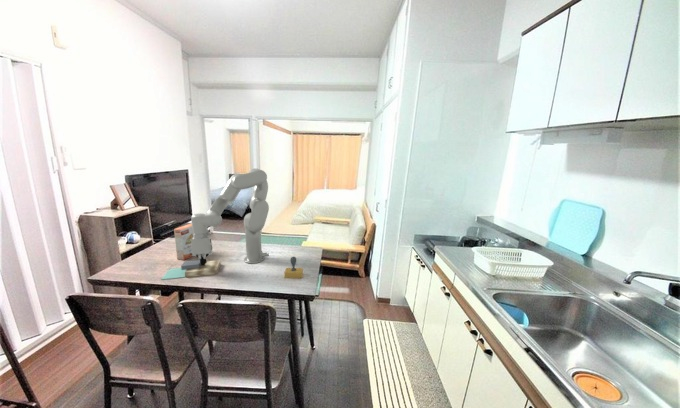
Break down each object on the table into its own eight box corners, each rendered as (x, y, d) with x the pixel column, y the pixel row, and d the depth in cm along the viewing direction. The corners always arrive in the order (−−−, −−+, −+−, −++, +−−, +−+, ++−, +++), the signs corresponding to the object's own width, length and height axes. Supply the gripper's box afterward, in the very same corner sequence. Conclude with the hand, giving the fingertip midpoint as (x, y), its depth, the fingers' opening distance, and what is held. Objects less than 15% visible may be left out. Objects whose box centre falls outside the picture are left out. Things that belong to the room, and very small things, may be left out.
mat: (190, 267, 144) (190, 266, 144) (184, 277, 133) (184, 276, 133) (169, 269, 141) (169, 268, 141) (161, 279, 130) (161, 279, 130)
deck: (220, 264, 149) (220, 260, 148) (216, 273, 138) (216, 269, 137) (191, 267, 144) (191, 262, 143) (185, 277, 133) (184, 272, 132)
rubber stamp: (284, 278, 135) (283, 258, 133) (286, 273, 141) (285, 254, 138) (301, 278, 136) (301, 259, 133) (302, 273, 141) (302, 254, 139)
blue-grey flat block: (202, 263, 143) (201, 259, 142) (199, 268, 137) (198, 264, 137) (185, 265, 140) (184, 261, 140) (181, 270, 135) (181, 266, 134)
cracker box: (184, 260, 152) (180, 229, 148) (176, 259, 154) (172, 228, 149) (201, 252, 166) (198, 223, 161) (194, 250, 167) (191, 222, 162)
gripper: (216, 232, 142) (218, 260, 146) (187, 233, 137) (191, 262, 141) (213, 236, 135) (216, 265, 139) (183, 238, 130) (187, 268, 134)
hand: (203, 264), depth 140 cm, fingers closed
